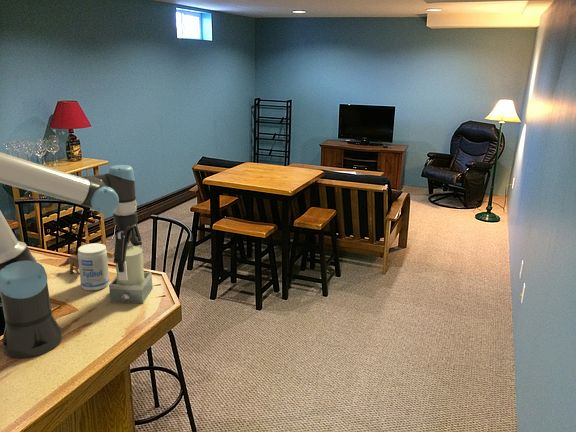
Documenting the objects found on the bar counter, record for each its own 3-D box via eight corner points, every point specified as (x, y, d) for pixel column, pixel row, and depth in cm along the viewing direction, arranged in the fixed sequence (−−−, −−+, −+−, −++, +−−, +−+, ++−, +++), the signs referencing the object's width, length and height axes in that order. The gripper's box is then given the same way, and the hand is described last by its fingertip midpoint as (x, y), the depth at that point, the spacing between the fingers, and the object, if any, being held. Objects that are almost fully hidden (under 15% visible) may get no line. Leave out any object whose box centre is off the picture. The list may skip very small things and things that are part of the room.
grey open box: (141, 305, 159) (140, 288, 157) (109, 304, 159) (107, 286, 157) (152, 288, 171) (151, 272, 169) (122, 287, 171) (120, 271, 169)
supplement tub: (83, 293, 166) (78, 255, 161) (79, 283, 174) (74, 245, 169) (112, 287, 171) (108, 249, 166) (106, 277, 178) (103, 241, 174)
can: (149, 276, 168) (146, 245, 164) (138, 288, 159) (135, 255, 156) (123, 275, 169) (121, 243, 165) (112, 286, 160) (108, 254, 156)
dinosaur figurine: (99, 270, 184) (97, 248, 182) (91, 276, 179) (88, 253, 176) (67, 266, 187) (64, 244, 184) (58, 273, 181) (54, 250, 178)
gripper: (123, 225, 144) (128, 288, 151) (147, 201, 168) (151, 257, 175) (98, 224, 144) (105, 287, 151) (126, 201, 168) (131, 256, 175)
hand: (130, 271), depth 163 cm, fingers open, 13 cm apart
